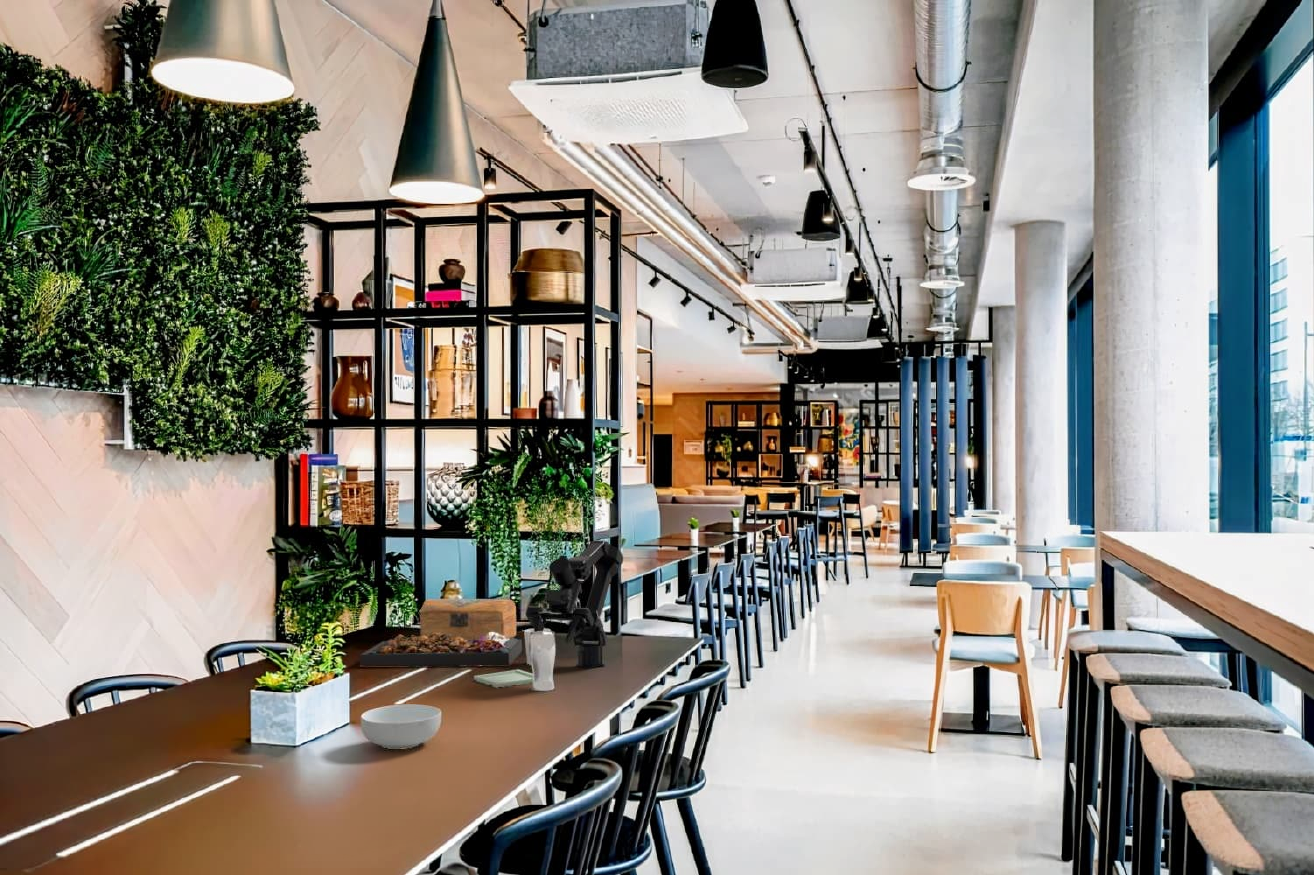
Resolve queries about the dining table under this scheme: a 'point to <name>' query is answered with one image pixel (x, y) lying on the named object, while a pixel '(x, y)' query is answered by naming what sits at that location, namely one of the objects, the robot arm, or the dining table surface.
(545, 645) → the beer glass
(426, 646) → the food platter
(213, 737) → the dining table surface
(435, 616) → the wooden box
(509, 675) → the tray
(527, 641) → the white cup
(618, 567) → the robot arm
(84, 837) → the dining table surface
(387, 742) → the cereal bowl
